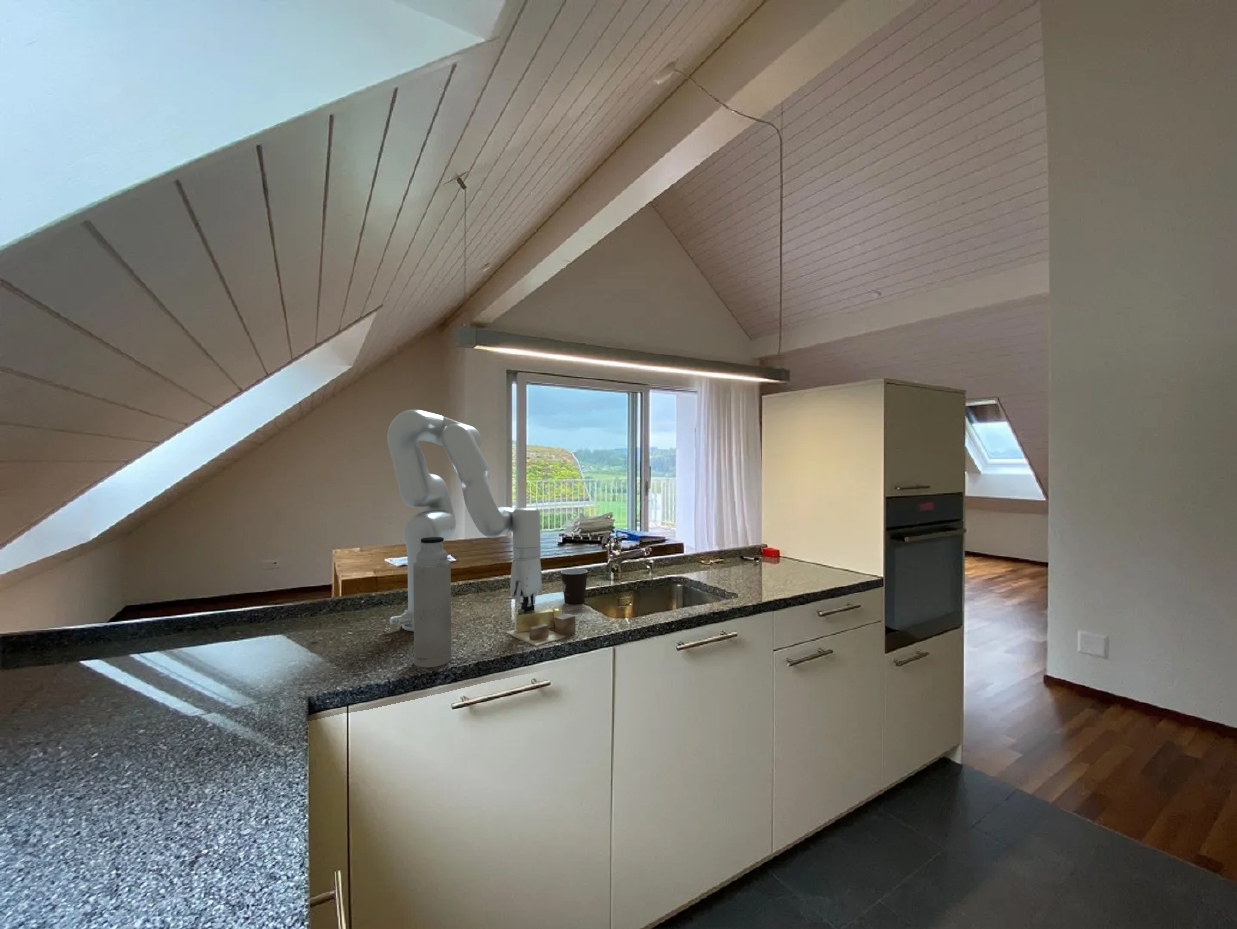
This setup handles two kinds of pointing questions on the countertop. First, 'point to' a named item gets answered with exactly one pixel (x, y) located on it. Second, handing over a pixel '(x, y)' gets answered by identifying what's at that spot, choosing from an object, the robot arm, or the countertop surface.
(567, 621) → the block
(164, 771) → the countertop surface
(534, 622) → the lock bar
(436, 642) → the thermos bottle
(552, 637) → the beige square plate
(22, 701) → the countertop surface
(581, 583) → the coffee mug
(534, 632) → the block
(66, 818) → the countertop surface
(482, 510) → the robot arm
